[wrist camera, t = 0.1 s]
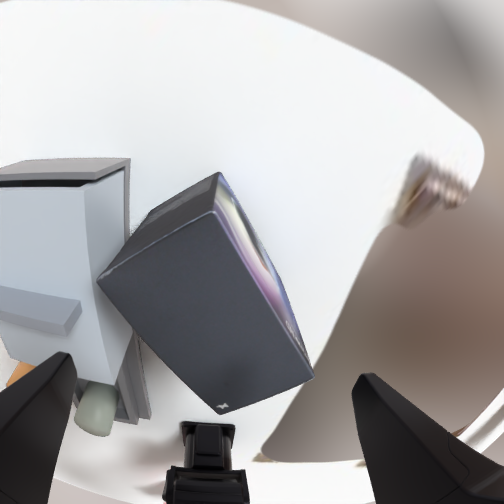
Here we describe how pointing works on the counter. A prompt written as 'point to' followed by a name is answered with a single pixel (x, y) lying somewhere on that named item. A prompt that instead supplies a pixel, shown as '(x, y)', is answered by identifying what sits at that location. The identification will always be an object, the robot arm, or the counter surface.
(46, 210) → the lid
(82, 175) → the housing
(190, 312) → the small box
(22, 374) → the orange rounded tapered piece
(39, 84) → the counter surface
